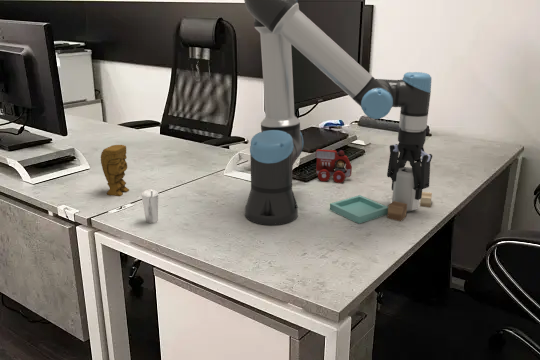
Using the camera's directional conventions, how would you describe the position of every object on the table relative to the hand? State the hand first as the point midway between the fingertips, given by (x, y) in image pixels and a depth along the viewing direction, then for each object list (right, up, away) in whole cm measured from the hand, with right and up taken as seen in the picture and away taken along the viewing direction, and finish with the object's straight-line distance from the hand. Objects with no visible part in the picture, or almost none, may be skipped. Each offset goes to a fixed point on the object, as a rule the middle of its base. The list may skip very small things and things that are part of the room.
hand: (405, 205), depth 154 cm
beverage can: (0, -1, 0) cm, 1 cm away
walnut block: (-4, -3, -6) cm, 8 cm away
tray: (-14, -2, -2) cm, 14 cm away
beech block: (+7, 0, +4) cm, 8 cm away
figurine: (-89, +3, +13) cm, 90 cm away
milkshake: (-73, -4, -9) cm, 73 cm away
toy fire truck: (-18, +7, +25) cm, 32 cm away
